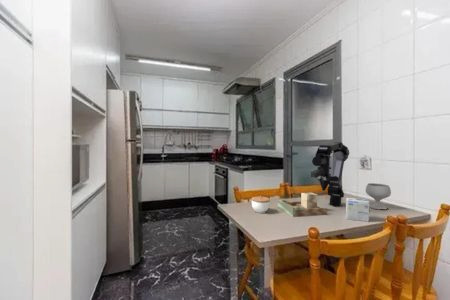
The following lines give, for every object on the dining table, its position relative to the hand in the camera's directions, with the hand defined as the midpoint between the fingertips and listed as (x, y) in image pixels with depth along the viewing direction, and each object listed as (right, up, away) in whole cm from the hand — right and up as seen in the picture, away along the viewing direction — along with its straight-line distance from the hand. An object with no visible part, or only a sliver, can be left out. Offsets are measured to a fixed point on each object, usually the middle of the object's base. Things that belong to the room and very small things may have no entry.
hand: (323, 190), depth 146 cm
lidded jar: (-40, -12, -6) cm, 42 cm away
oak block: (-10, -9, -2) cm, 14 cm away
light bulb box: (+11, -13, -16) cm, 24 cm away
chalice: (+39, -13, +9) cm, 42 cm away
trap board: (-15, -12, -4) cm, 19 cm away
